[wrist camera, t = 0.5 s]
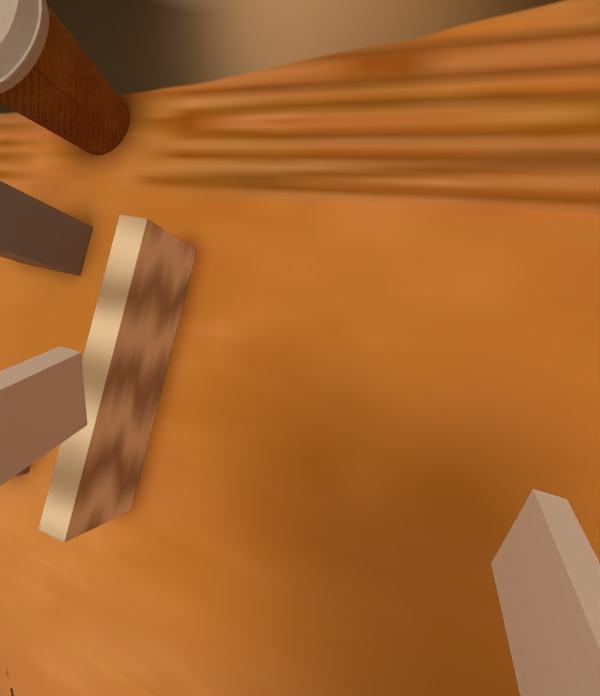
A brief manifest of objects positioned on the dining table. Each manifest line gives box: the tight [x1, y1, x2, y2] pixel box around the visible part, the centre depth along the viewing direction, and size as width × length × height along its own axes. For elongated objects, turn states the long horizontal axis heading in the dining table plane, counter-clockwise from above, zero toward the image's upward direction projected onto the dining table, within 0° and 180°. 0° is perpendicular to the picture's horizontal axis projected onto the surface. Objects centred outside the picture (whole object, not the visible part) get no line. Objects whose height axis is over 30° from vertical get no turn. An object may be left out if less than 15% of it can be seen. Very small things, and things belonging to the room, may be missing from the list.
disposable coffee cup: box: [0, 0, 129, 154], centre depth 32 cm, size 10×10×12 cm
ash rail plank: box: [39, 215, 197, 542], centre depth 31 cm, size 24×2×7 cm, turn 166°
